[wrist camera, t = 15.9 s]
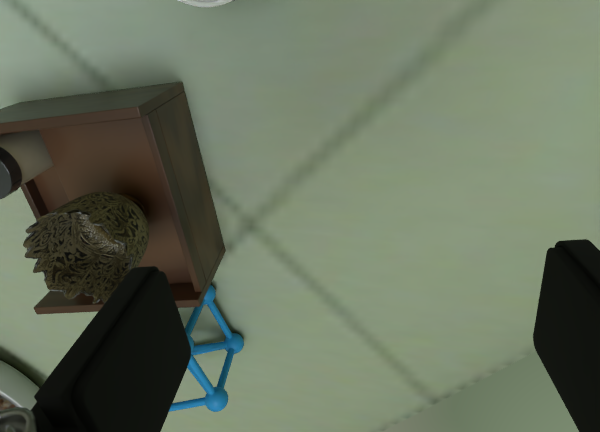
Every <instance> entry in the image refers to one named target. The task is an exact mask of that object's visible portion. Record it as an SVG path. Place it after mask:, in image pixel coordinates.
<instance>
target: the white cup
mask: <svg viewBox="0 0 600 432" xmlns="http://www.w3.org/2000/svg"><path fill="white" fill-rule="evenodd" d="M178 1H180V2H182V3H185V4H188V5H191V6H196V7H216V6H220V5H224V4H227V3H229V2H233V1H236V0H178Z"/></svg>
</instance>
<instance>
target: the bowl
mask: <svg viewBox="0 0 600 432" xmlns="http://www.w3.org/2000/svg"><path fill="white" fill-rule="evenodd" d="M39 389H40V388H39V387H38V386H36V385H35V384H34V383H33V382H32V381H31V380H30V379H29V378H27V377H26V376H25V375H23V374H22V373H21V372H19V371H18V370H16V369H15V368H13V367H12V366H10V365H8V364H7V363H5V362H3V361H1V360H0V411H2V410H5V409H9V408H14V407H24V408H27V409H29V410H31V409H32V408H33V406H34V405H35V404H36V402H37V401H36V399H35V398H34V396H35V394H36V393H37V392H38V390H39Z"/></svg>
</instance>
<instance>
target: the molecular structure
mask: <svg viewBox="0 0 600 432" xmlns="http://www.w3.org/2000/svg"><path fill="white" fill-rule="evenodd" d="M215 295H216V291H215V289H214V287H213V286H212V285H210V286H209V288H208V291H207V293H206V295H205V297H204V299H203V302H202V304H201V306H200V307H195V308H194V310H193V313H192V315H191V317H190V319H189V321H188V323H187V325H186V328H185V332H186V334H187V337H188V340H189V343H190V346H191V358H190V361H189V364H188V366H187V368H188V369H189V370H190V372H191V373H192V374H193V376H194V377H195V378H196V379H197V381H198V382H199V383H200V385H201V386H202V387H203V389H204V390H205V391H206V392H207V394H206V396H205V397H204V398H199V399H193V400H188V401H183V402H177V403H172V405H171V407H170V410H169V412H170V411H175V410H181V409H186V408H192V407H197V406H203V405H206V406H207V408H208V409H209V410H211V411H214V412H217V411H221V410H222V409H224V407H225V406H226V405H227V402H228V394H227V392H226V391H225V389H223V388H224V385H225V382H226V378H227V375H228V372H229V368H230V365H231V362H232V358H233V355H234V354H235V353H238V352H240V351H241V350H242V348H243V345H244V341H243V338H242V337H241V335H239V334H237V333H231V331H230V329H229V328H228V326H227V324H226V323H225V321H224V319H223V317H222V316H221V314H220V312H219V310H218V309H217V307H216V305H215V304H214V302H213V300H214V298H215ZM204 304H207V305H208V307H209V308H210V310H211V312H212V313H213V315H214V317H215V319H216V320H217V322H218V324H219V325H220V327H221V329H222V330H223V332H224V334H225V336H226V338H225V340H224V342H217V343H210V344H202V345H195V346H194V341H193V339H192V337H191V336H190V334H191V332H192V330H193V328H194V325H195V323H196V321H197V319H198V316H199V314H200V312H201V310H202V307H203V305H204ZM220 349H225V350H226V351H227V352H228V353H227V356H226V359H225V362H224V366H223V369H222V372H221V375H220V378H219V381H218V384H217V387H213V386H212V384H211V383H210V381H209V380H208V378H207V377H206V375H205V374H204V372H203V370H202V369H201V367H200V366H199V364H198V363H197V361H196V360H195V358H194V357H193V355H197V354H202V353H207V352H211V351H216V350H220Z"/></svg>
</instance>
